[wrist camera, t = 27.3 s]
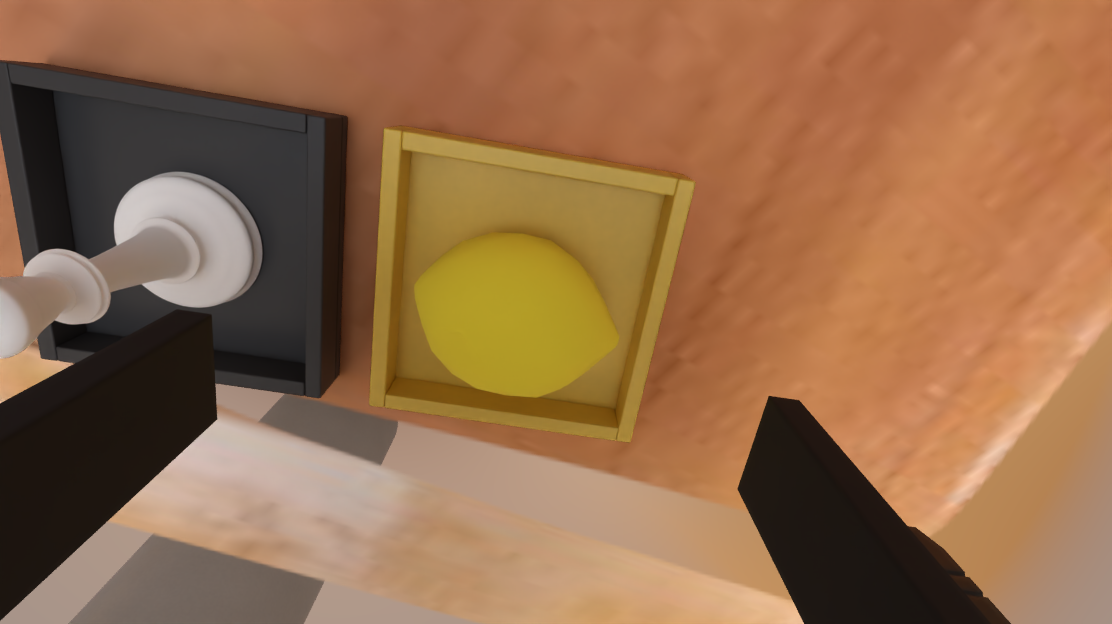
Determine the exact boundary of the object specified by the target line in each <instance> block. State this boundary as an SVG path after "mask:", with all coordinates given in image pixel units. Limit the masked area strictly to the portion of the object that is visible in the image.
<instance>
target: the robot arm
mask: <svg viewBox="0 0 1112 624" xmlns="http://www.w3.org/2000/svg"><path fill="white" fill-rule="evenodd" d="M216 420H217V407H216V387H215V368H214V348H213V328H212V314H206V313H199V312H192V311H185V310H179V309H176V310H174V311H173V312H171V313H169V314H167V315H165V316H163V317H161V318H159V319H158V320H156V321H154V322H152V323H150V324H148V325H146V326H144V327H143V328H141V329H139V330H137V331H135V332H133V333H131V334H129V335H128V336H126V337H124V338H122V339H120V340H118V341H116V342H114V343H113V344H111V345H109V346H107V347H105V348H103V349H101V350H99V351H98V352H96V353H94V354H92V355H90V356H88V357H86V358H84V359H83V360H81V361H79V362H77V363H75V364H73V365H71V366H69V367H68V368H66V369H64V370H62V371H60V372H58V373H56V374H54V375H53V376H51V377H49V378H47V379H45V380H43V381H41V382H39V383H38V384H36V385H34V386H32V387H30V388H28V389H26V390H24V391H23V392H21V393H19V394H17V395H15V396H13V397H11V398H9V399H8V400H6V401H4V402H2V403H0V620H1V619H3V618H4V617H5V616H6V615H7V614H8V613H9V612H10V611H11V610H12V609H13V608H14V607H16V606H17V605H18V604H19V603H20V602H21V601H22V600H23V599H24V598H25V597H26V596H27V595H28V594H30V593H31V592H32V591H33V590H34V589H35V588H36V587H37V586H38V585H39V584H40V583H41V582H42V581H44V580H45V579H46V578H47V577H48V576H49V575H50V574H51V573H52V572H53V571H54V570H55V569H56V568H57V567H59V566H60V565H61V564H62V563H63V562H64V561H65V560H66V559H67V558H68V557H69V556H70V555H72V554H73V553H74V552H75V551H76V550H77V549H78V548H79V547H80V546H81V545H82V544H83V543H84V542H85V541H86V540H87V539H89V538H90V537H91V536H92V535H93V534H94V533H95V532H96V531H97V530H98V529H99V528H101V527H102V526H103V525H104V524H105V523H106V522H107V521H108V520H109V519H110V518H111V517H112V516H114V515H115V514H116V513H117V512H118V511H119V510H120V509H121V508H122V507H123V506H124V505H125V504H126V503H128V502H129V501H130V500H131V499H132V498H133V497H134V496H135V495H136V494H137V493H138V492H139V491H140V490H142V489H143V488H144V487H145V486H146V485H147V484H148V483H149V482H150V481H151V480H152V479H153V478H154V477H155V476H157V475H158V474H159V473H160V472H161V471H162V470H163V469H164V468H165V467H166V466H167V465H168V464H169V463H171V462H172V461H173V460H174V459H175V458H176V457H177V456H178V455H179V454H180V453H181V452H182V451H183V450H185V449H186V448H187V447H188V446H189V445H190V444H191V443H192V442H193V441H194V440H195V439H196V438H197V437H199V436H200V435H201V434H202V433H203V432H204V431H205V430H206V429H207V428H208V427H209V426H210V425H211V424H213V423H214V422H215V421H216ZM738 491H739V493H740V495H741V497H742V499H743V501H744V503H745V505H746V507H747V509H748V511H749V513H750V515H751V517H752V519H753V521H754V523H755V525H756V527H757V529H758V531H759V533H760V535H761V537H762V539H763V541H764V544H765V546H766V548H767V550H768V552H769V554H770V556H771V557H772V560H773V562H774V564H775V565H776V568H777V570H778V572H779V574H780V576H781V578H782V580H783V582H784V584H785V586H786V588H787V590H788V592H789V594H790V596H791V598H792V600H793V602H794V604H795V606H796V608H797V610H798V612H799V614H800V616H801V618H802V620H803V622H804V624H1011V623H1010V622H1009V621H1008V620H1007V619H1006V618H1005V617H1004V615H1003V614H1002V613H1001V612H1000V611H999V610H998V609H997V608H996V607H995V605H994V604H993V603H992V602H991V601H990V600H989V599H988V598H986V597H983V592H982V591H981V590H980V589H979V588H978V587H977V586H976V584H975V583H974V582H973V581H972V580H971V579H970V578H969V577H965V572H964V571H963V570H962V569H961V568H960V566H959V565H958V564H957V563H956V562H955V561H954V560H953V559H952V558H951V556H950V555H949V554H948V553H947V552H946V551H945V550H944V549H943V548H942V547H941V546H939V545H938V544H937V543H935V542H934V541H933V540H931V539H930V538H929V537H927V536H926V535H925V534H924V533H922V532H921V531H920V530H918V529H917V528H916V527H909V526H907V525H906V524H905V523H904V522H903V520H902V519H901V518H900V517H899V516H898V515H897V513H896V512H895V511H894V510H893V509H892V508H891V506H890V505H889V504H888V503H887V502H886V501H885V500H884V498H883V497H882V496H881V495H880V494H879V493H878V491H877V490H876V489H875V488H874V487H873V486H872V484H871V483H870V482H869V481H868V480H867V479H866V477H865V476H864V475H863V474H862V473H861V472H860V470H859V469H858V468H857V467H856V466H855V465H854V463H853V462H852V461H851V460H850V459H849V458H848V456H847V455H846V454H845V453H844V452H843V451H842V450H841V448H840V447H839V446H838V445H837V444H836V443H835V441H834V440H833V439H832V438H831V437H830V436H829V434H828V433H827V432H826V431H825V430H824V429H823V427H822V426H821V425H820V424H819V423H818V422H817V420H816V419H815V418H814V417H813V416H812V415H811V413H810V412H809V411H808V410H807V409H806V408H805V406H804V405H803V404H802V403H801V402H800V401H799V400H793V399H787V398H780V397H773V396H769V397H768V400H767V403H766V406H765V409H764V412H763V415H762V418H761V421H760V424H759V427H758V430H757V433H756V436H755V439H754V442H753V445H752V448H751V451H750V454H749V457H748V459H747V462H746V465H745V468H744V471H743V474H742V477H741V480H740V483H739V486H738Z"/></svg>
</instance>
